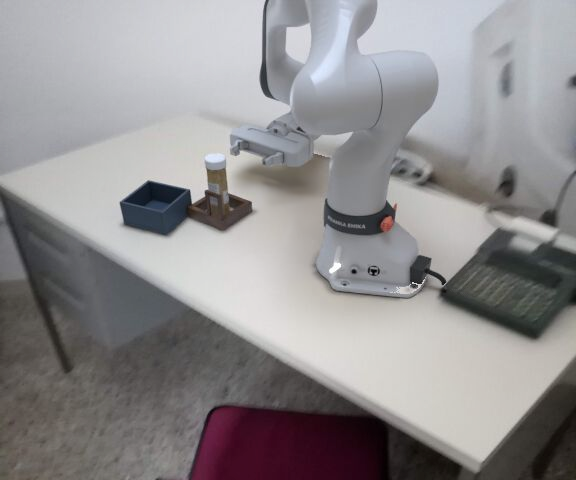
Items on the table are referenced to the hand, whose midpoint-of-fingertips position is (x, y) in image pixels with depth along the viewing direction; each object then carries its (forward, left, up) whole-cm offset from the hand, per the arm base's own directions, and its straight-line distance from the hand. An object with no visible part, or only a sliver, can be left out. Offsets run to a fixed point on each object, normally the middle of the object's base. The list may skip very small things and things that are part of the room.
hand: (248, 157), depth 136 cm
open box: (+15, +17, -9) cm, 25 cm away
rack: (+3, +11, -9) cm, 14 cm away
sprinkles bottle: (+3, +11, -9) cm, 14 cm away
